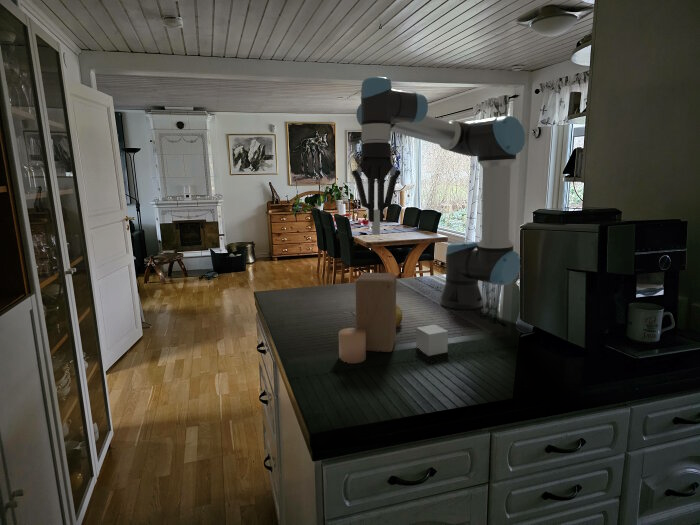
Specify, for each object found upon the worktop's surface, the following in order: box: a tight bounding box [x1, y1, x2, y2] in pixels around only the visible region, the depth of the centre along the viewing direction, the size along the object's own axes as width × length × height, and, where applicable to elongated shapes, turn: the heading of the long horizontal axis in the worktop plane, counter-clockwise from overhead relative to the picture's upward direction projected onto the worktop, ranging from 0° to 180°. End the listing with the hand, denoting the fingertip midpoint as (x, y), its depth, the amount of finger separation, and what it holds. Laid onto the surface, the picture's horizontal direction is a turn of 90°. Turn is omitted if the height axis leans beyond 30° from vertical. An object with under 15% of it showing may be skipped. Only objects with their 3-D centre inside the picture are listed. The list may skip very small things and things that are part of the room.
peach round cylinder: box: [338, 327, 367, 364], centre depth 112 cm, size 7×7×7 cm
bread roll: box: [396, 303, 403, 328], centre depth 138 cm, size 13×10×8 cm
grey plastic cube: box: [415, 324, 449, 357], centre depth 117 cm, size 6×6×6 cm
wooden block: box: [355, 272, 397, 353], centre depth 119 cm, size 10×10×20 cm
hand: (375, 234), depth 115 cm, fingers closed
